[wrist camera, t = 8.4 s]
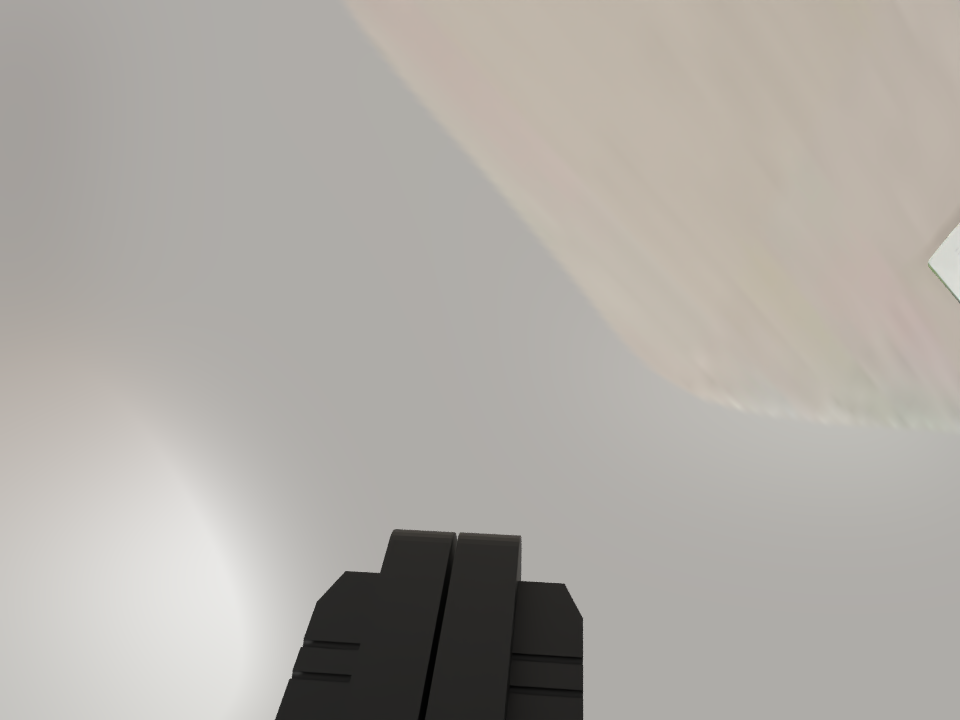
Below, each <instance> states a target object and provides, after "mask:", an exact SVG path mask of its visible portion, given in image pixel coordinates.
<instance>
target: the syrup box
mask: <svg viewBox="0 0 960 720" xmlns="http://www.w3.org/2000/svg"><path fill="white" fill-rule="evenodd" d="M928 266H929V267H930V269H931V270H932V271H933V272H934V273H935V274H936V276H937V277H938V278H939V279H940V280H941V281H942V282H943V284H944V285H945V286H946V287H947V288H948V290H949V291H950V292H951V293H952V295H953V296H954V297H955V298H956V299H957V300H958V302H959V303H960V223H959V224H958V225H957V226H956V228H955V229H954V230H953V231H952V232H951V233H950V235H949V236H948V237H947V238H946V239H945V241H944V242H943V243H942V244H941V246H940V247H939V248H938V249H937V251H936V252H935V253H934V254H933V255H932V257H931V258H930V260H929V261H928Z"/></svg>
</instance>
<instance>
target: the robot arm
mask: <svg viewBox="0 0 960 720" xmlns="http://www.w3.org/2000/svg"><path fill="white" fill-rule="evenodd" d="M275 720H583V618H582V616H581V614H580V612H579V610H578V609H577V606H576V605H575V603H574V601H573V599H572V598H571V595H570V593H569V592H568V590H567V588H566V586H565V584H561V583H544V582H526V581H521V536H517V535H497V534H479V533H460V534H459V536H458V540H457V536H456V533H455V532H437V531H419V530H400V529H395V530H393V532H392V534H391V537H390V540H389V544H388V547H387V551H386V554H385V558H384V561H383V565H382V568H381V572H380V573H368V572H350V571H345V572H344V574H343V575H342V576H341V577H340V578H339V579H338V580H337V581H336V582H335V583H334V584H333V585H332V586H331V587H330V589H329V590H328V591H327V592H326V593H325V594H324V595H323V596H322V597H321V598H320V599H319V600H318V601H317V603H316V606H315V609H314V611H313V614H312V617H311V620H310V623H309V626H308V628H307V631H306V634H305V637H304V643H303V647H301V648H300V651H299V654H298V657H297V660H296V662H295V665H294V668H293V674H292V679H289V682H288V685H287V688H286V690H285V693H284V696H283V699H282V702H281V705H280V707H279V710H278V713H277V716H276V719H275Z"/></svg>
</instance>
